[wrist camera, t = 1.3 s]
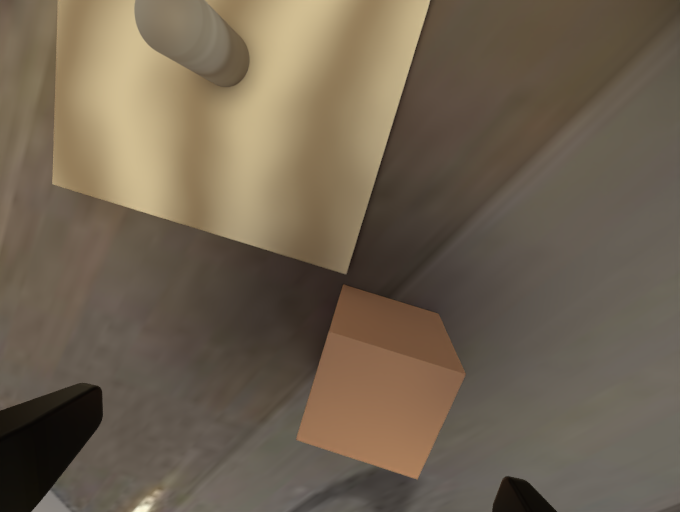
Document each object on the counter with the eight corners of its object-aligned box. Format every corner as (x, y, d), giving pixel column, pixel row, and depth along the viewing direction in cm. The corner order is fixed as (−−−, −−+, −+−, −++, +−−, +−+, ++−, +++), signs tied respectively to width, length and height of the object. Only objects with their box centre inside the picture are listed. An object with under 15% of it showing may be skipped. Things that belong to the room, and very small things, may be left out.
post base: (460, -99, 14) (511, -262, 9) (347, 269, 19) (336, 306, 14) (84, -199, 15) (-79, -408, 9) (68, 183, 20) (-46, 187, 14)
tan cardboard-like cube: (438, 313, 19) (465, 374, 13) (405, 394, 21) (417, 479, 15) (343, 284, 19) (329, 331, 13) (317, 366, 21) (296, 439, 15)
